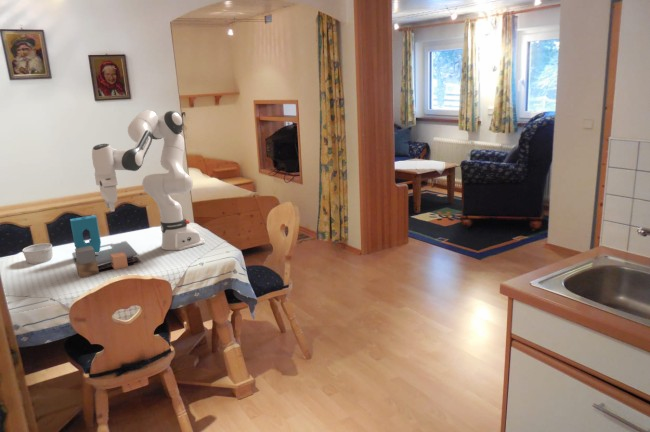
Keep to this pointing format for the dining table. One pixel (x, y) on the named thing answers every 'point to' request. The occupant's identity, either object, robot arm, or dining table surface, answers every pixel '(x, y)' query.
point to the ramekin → (38, 253)
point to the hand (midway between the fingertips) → (110, 209)
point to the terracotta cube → (119, 260)
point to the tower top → (85, 255)
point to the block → (92, 226)
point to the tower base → (87, 269)
